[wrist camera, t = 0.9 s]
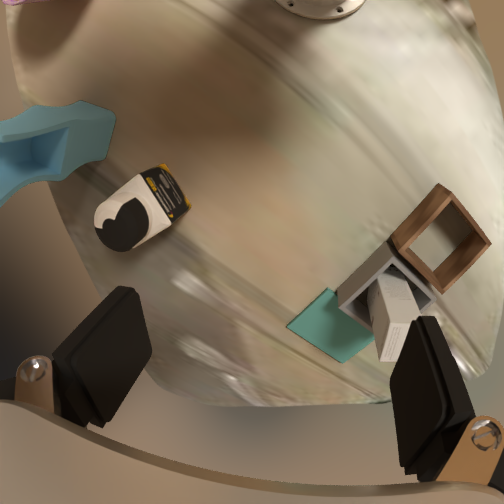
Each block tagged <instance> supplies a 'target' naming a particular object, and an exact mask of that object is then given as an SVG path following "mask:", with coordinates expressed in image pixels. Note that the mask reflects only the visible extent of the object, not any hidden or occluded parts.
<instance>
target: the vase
mask: <svg viewBox="0 0 504 504" xmlns="http://www.w3.org/2000/svg"><path fill="white" fill-rule="evenodd" d="M115 122H116V117H115V114H114V113H113V112H112V111H110V110H107V109H105V108H102V107H99V106H96V105H93V104H90V103H87V102H84V101H81V100H80V101H78V102H76V103H73V104H71V105H68V106H63V107H50V106H41V105H35V106H32V107H30V108H29V109H27V110H26V111H24V112H23V113H22V114H19V115H18V116H16V117H14V118H11V119H9V120H5V121H0V207H1V206H2V205H3V204H4V203H5V202H6V201H7V200H8V199H9V198H10V197H11V196H12V195H13V194H14V193H15V192H17V191H18V190H19V189H21V188H22V187H24V186H26V185H28V184H30V183H34V182H37V181H62V180H64V179H65V178H66V177H68V176H69V175H70V174H71V173H72V172H73V171H74V170H76V169H77V168H78V167H80V166H81V165H83V164H85V163H88V162H92V161H102V160H104V159H105V158H106V155H107V152H108V148H109V144H110V140H111V136H112V133H113V129H114V126H115Z"/></svg>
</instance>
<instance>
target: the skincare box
mask: <svg viewBox="0 0 504 504" xmlns="http://www.w3.org/2000/svg"><path fill="white" fill-rule="evenodd" d="M367 305H368V310H369V314H370V319H371V323H372V328H373V333H374V338H375V343H376V347H377V352H378V357H379V361H380V362H392V361H397V360H398V357H399V355H400V352H401V349H402V347H403V344H404V341H405V339H406V336H407V333H408V330H409V327H410V324H411V322H412V320H416V319H417V317H418V316H421V313H420V311H419V308H418V306H417V304H416V301H415V299H414V297H413V294H412V292H411V290H410V287H409V285H408V283H407V281H406V278H405V276H404V274H403V272H402V271H401V270H400V269H399V268H397V267H388V268H387V269H386V270H385V271H384V272H383V273H382V274H381V275H379V276H378V277H377V278H376V279H375V280H374V281H373V282H372V283H371V284H370V285H369V288H368V294H367Z"/></svg>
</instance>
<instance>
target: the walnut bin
mask: <svg viewBox="0 0 504 504" xmlns="http://www.w3.org/2000/svg"><path fill="white" fill-rule="evenodd" d="M449 202H450V203H451V204H452V206H453V207H454V208H455V209H456V210H457V211H458V213H459V214H460V215H461V216H462V218H463V219H464V220H465V221H466V223H467V224H468V225H469V226H470V228H471V229H472V230H473V231H472V232H471V233H470V234H469V235H468V236H467V237H466V239H465V240H464V241H463V242H462V243H461V244H460V245H459V246H458V247H457V248H456V249H455V250H454V251H453V252H452V253H451V255H450V256H449V257H448V258H447V259H446V260H445V261H444V262H443V263H442V264H441V265H440V266H439V267H438V268H437V269H436V270H435V271H434V272H432V270H431V269H430V268H429V267H428V266H427V265H426V264H425V263H424V262H423V261H422V260H421V259H420V258H419V257H418V256H417V255H416V254H415V253H414V252H413V251H412V250H411V249H410V248H409V246H410V245H411V244H412V243H413V241H414V240H415V239H416V238H417V237H418V236H419V235H420V234H421V233H422V232H423V231H424V230H425V229H426V228H427V227H428V226H429V224H430V223H431V222H432V221H433V220H434V219H435V218H436V217H437V216H438V215H439V213H440V212H441V211H442V210H443V209H444V208H445V207H446V206H447V204H448V203H449ZM390 237H391V239H392V241H393V243H394V245H395V247H396V249H397V250H398V252H399V253H400V254H401V255H402V256H403V257H405V258H406V259H407V260H408V261H409V262H410V263H411V264H412V265H413V266H414V267H415V268H416V269H417V270H418V271H419V272H420V273H421V274H422V275H423V276H424V277H425V278H426V279H427V280H428V281H429V282H430V283H431V284H432V285H433V286H434V287H435V288H436V289H437V290H438V291H439V292H440V293H441V294H443V293H444V292H445V291H447V290H448V289H449V288H450V287H451V286H452V285H453V284H454V283H455V282H456V281H457V280H458V279H459V278H460V277H461V276H462V275H463V274H464V273H465V272H466V271H467V270H468V269H469V268H470V267H471V266H472V265H473V264H474V263H475V262H476V260H477V259H478V258H479V257H480V256H481V255H482V254H483V253H484V252H485V251H486V250H487V249H488V247H489V246H490V245H491V244H492V243H491V242H490V240H489V239H488V238H487V236H486V235H485V234H484V232H483V231H482V229H481V228H480V227H479V225H478V224H477V223H476V221H475V220H474V219H473V218H472V216H471V215H470V214H469V212H468V211H467V210H466V209H465V207H464V206H463V205H462V204H461V203H460V201H459V200H458V199H457V198H456V197H455V195H454V194H453V193H452V192H451V191H449V190H448V189H446V188H445V187H444V186H442V185H441V184H439V183H438V184H437V185H436V186H435V187H434V188H433V190H432V191H431V192H430V193H429V194H428V195H427V196H426V198H425V199H424V200H423V201H422V202H421V203H420V204H419V205H418V207H417V208H416V209H415V210H414V211H413V212H412V213H411V214H410V215H409V216H408V218H407V219H406V220H405V221H404V222H403V223H402V224H401V225H400V226H399V227H398V228H397V229H396V230H395V231H394V233H393V234H392V235H391V236H390Z"/></svg>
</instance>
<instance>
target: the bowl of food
mask: <svg viewBox="0 0 504 504" xmlns="http://www.w3.org/2000/svg"><path fill="white" fill-rule="evenodd" d="M2 1H3V3H4V4H7V5H12V6H14V5H20V4H27V3H34V2H42V1H48V0H2Z"/></svg>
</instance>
